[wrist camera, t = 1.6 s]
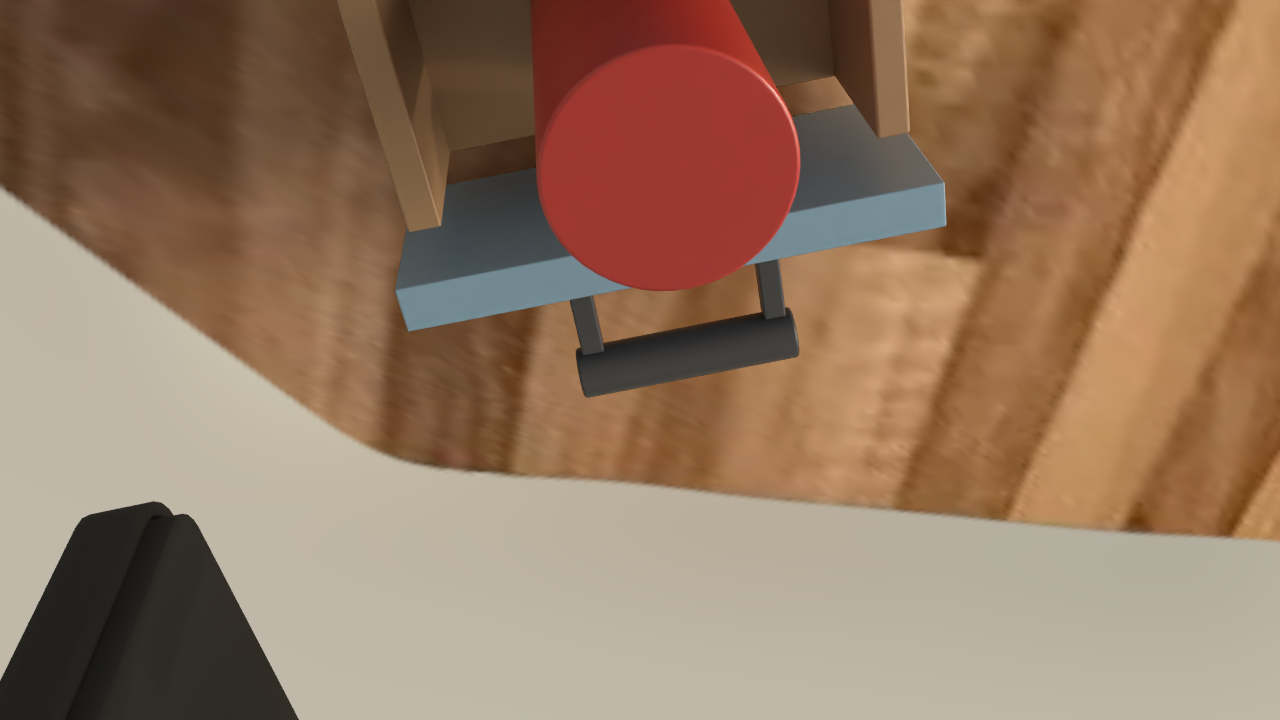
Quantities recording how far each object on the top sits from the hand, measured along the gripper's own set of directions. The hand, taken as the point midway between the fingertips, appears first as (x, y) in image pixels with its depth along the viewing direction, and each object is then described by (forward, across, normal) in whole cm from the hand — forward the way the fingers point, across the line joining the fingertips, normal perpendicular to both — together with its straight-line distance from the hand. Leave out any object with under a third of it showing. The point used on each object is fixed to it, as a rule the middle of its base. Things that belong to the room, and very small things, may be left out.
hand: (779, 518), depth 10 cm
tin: (+23, 0, +2) cm, 23 cm away
